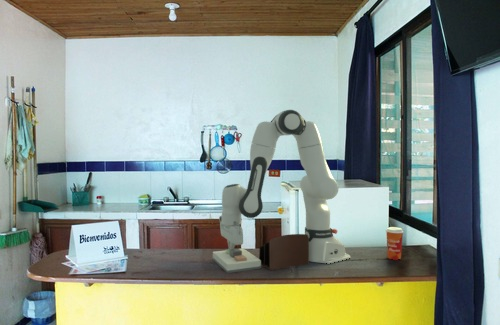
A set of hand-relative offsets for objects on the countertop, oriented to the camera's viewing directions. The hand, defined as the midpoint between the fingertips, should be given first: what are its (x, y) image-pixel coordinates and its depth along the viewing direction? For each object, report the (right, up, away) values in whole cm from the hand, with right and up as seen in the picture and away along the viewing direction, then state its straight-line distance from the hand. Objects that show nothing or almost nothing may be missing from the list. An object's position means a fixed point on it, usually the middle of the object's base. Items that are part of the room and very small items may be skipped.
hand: (231, 250), depth 161 cm
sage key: (0, -3, 0) cm, 3 cm away
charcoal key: (+2, -2, -5) cm, 6 cm away
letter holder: (+23, -5, -5) cm, 25 cm away
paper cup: (+76, -5, +4) cm, 76 cm away
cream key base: (+2, -5, -5) cm, 7 cm away
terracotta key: (+4, -3, -10) cm, 11 cm away
